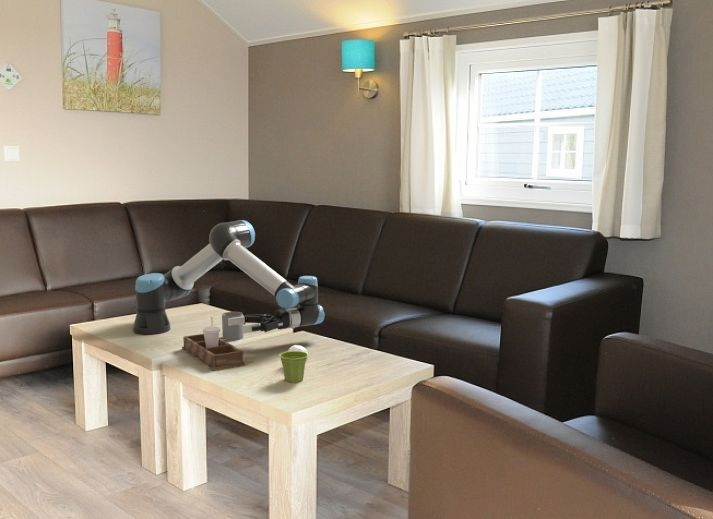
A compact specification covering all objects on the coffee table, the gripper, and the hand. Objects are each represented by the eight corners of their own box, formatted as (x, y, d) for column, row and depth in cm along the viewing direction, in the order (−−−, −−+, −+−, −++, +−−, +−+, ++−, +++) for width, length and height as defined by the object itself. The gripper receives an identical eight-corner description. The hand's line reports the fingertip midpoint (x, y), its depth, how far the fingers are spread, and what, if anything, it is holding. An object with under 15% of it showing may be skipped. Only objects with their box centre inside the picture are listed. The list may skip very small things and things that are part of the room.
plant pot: (280, 375, 247) (279, 351, 246) (307, 375, 248) (307, 350, 247) (279, 384, 238) (279, 359, 237) (308, 384, 239) (308, 358, 237)
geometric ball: (291, 374, 257) (277, 357, 256) (302, 361, 264) (288, 344, 262) (305, 368, 253) (291, 350, 251) (316, 354, 259) (302, 337, 258)
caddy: (182, 349, 280) (181, 336, 279) (211, 344, 286) (211, 332, 285) (213, 370, 253) (212, 356, 252) (245, 365, 259) (244, 351, 258)
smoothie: (224, 352, 271) (223, 315, 269) (215, 357, 265) (214, 319, 263) (209, 350, 273) (207, 314, 271) (200, 355, 267) (198, 318, 265)
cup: (238, 341, 291) (238, 316, 289) (219, 340, 293) (218, 315, 291) (246, 335, 299) (245, 312, 298) (227, 334, 301) (226, 311, 299)
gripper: (301, 335, 274) (249, 343, 263) (272, 321, 295) (223, 328, 284) (301, 315, 273) (249, 322, 262) (272, 303, 294) (222, 309, 283)
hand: (235, 325), depth 273 cm, fingers open, 13 cm apart
